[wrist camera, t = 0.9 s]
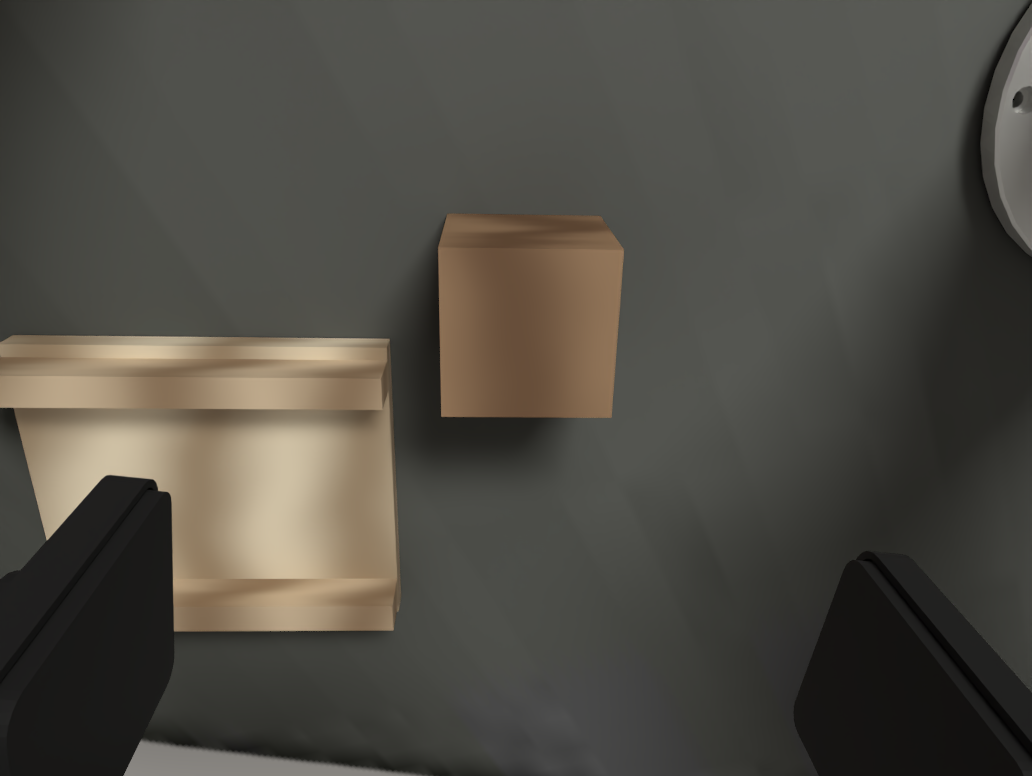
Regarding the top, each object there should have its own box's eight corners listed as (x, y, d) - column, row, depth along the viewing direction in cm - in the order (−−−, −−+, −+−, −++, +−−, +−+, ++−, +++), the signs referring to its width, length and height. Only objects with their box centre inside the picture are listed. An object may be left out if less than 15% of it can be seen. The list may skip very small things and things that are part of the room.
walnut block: (599, 215, 28) (624, 249, 23) (590, 357, 30) (611, 417, 25) (447, 213, 28) (438, 247, 23) (449, 356, 30) (441, 416, 25)
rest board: (389, 338, 30) (380, 365, 27) (401, 596, 34) (394, 640, 32) (12, 335, 29) (-34, 361, 26) (76, 597, 34) (42, 642, 31)
